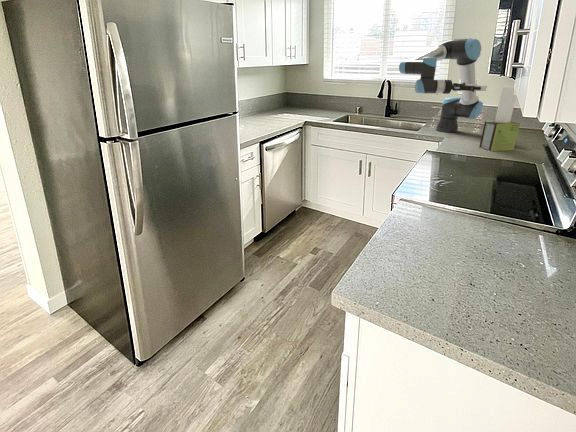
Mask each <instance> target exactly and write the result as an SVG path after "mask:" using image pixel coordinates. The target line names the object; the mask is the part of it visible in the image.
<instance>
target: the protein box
mask: <svg viewBox="0 0 576 432" xmlns="http://www.w3.org/2000/svg"><path fill="white" fill-rule="evenodd" d="M520 125H521V123H520V122H516V121H511V120H510V122H509V123H500V122H495V120H486V121H484V124H483V129H482V133H481V137H480V143H479V148H480V149H484V150H487V151H490V152H491V151H492V152H501V151H503V152H504V151H514V149H515V145H516V141H517V138H518V133H519V130H520Z"/></svg>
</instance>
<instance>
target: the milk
mask: <svg viewBox="0 0 576 432" xmlns="http://www.w3.org/2000/svg"><path fill="white" fill-rule="evenodd" d="M514 81H515V80H514ZM514 81H511V80H506V81H505V84H504V85H503V86H502V87H501V93H500V97H499V102H498V106H497V110H496V114H495V120H494V121H495V122H500V123H509V122H510V121H511V119H512V116H513V111H514V107H515V103H516V99H517V96H515V95H514Z"/></svg>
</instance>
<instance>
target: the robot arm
mask: <svg viewBox="0 0 576 432" xmlns="http://www.w3.org/2000/svg"><path fill="white" fill-rule="evenodd" d="M481 51H482V44H481V41H480V40H478V39H477V38H453V39H448V40H446V41H444V42H440V43H439V44H437V45H435V46H434V47H433V48H432V49H430V50H428V51H426V52H424V53H421V55H418V56H416V57H413V58H411V59H409V60H407V59H406V60H405V59H404V60H402V61H400V63H399V65H398V72H399V73H400V74H402V75H403V74H405V75H418V76H419V75H420V77H419V78H420V79H416V81H415V85H414V89H415V90H414V91H415V93H416V94H424V95H425V94H436V95H438V94H439V95H440V94H444V95H445V94H446V95H447V94H450V93H451V91H453V92H457V91H458V92H461V97H460V96H458V97H446V98H444V99H443V100H442V105H441V110H440V111H441V112H440V117H439V121H438V122H437V124H436V126H435V131H438V132H444V133H457V132H459V124H458V123H459V122H458V118H464V119H469V120H475V119H477V118H478V117H479V116H480V115H481V113H482V110H483V107H484V103H483V101H480V98H479V96H478V95H477V92H486V91H487V88H488V86H487V85H478V83H476V65H475V64H476V62H477V61H478V59H479V58H480V56H481ZM443 60H455V61H456V65H458V66H459V75H460V83H457V82H453V81H452V80H451V79H435V75H436V69H437V62H438V61H443Z"/></svg>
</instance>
